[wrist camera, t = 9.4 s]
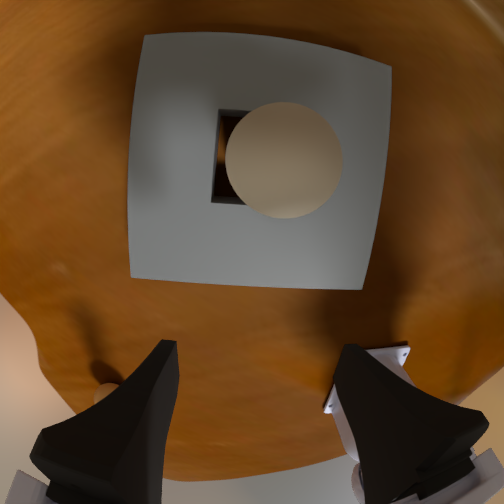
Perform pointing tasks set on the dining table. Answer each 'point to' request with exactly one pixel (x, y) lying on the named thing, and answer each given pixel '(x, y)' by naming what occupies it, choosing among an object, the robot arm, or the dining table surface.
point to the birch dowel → (284, 160)
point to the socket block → (205, 158)
